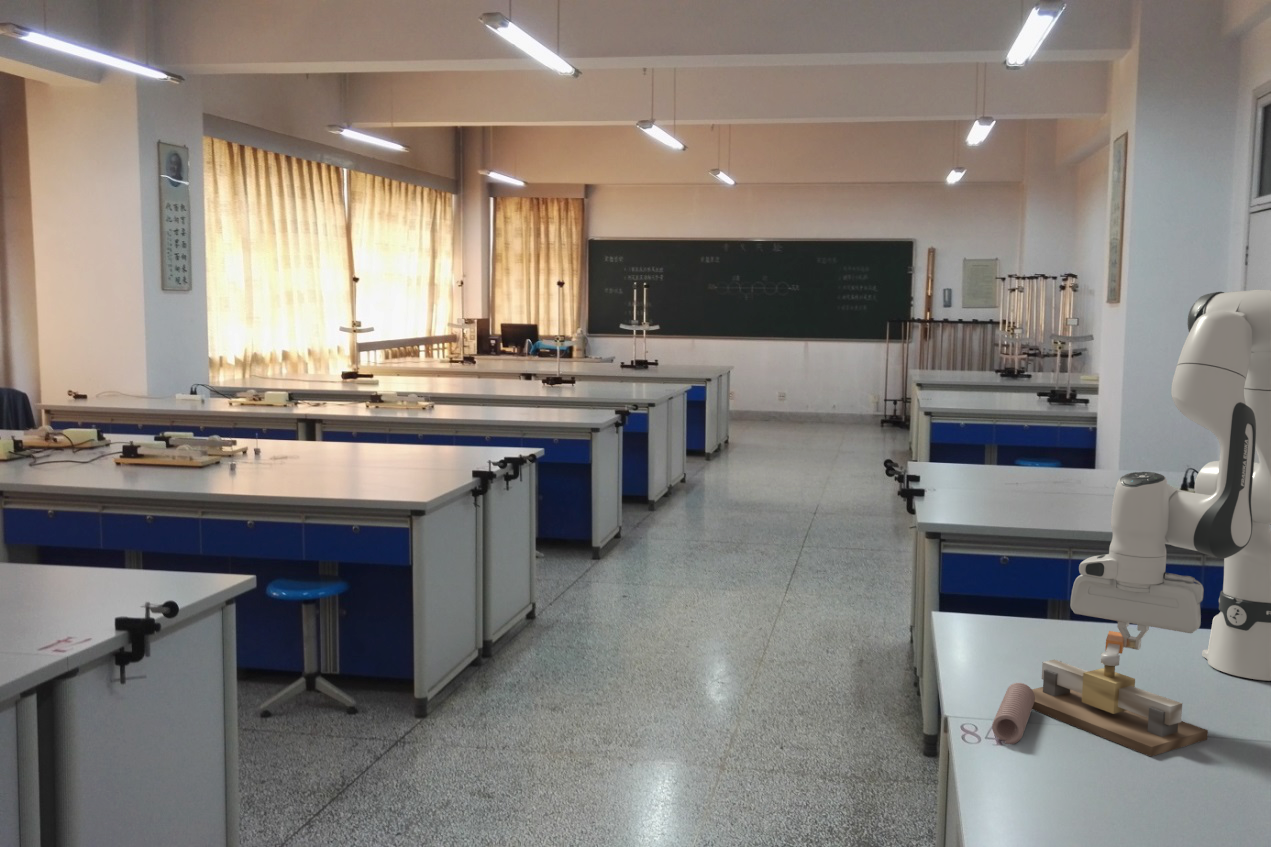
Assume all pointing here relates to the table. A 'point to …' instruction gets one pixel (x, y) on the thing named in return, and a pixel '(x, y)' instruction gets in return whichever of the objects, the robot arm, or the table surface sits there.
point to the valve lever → (1112, 649)
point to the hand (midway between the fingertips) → (1131, 648)
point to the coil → (1013, 713)
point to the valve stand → (1113, 708)
